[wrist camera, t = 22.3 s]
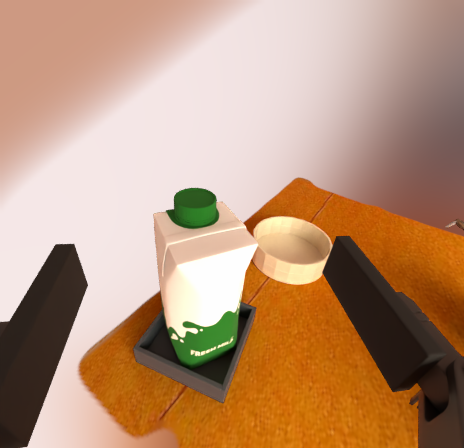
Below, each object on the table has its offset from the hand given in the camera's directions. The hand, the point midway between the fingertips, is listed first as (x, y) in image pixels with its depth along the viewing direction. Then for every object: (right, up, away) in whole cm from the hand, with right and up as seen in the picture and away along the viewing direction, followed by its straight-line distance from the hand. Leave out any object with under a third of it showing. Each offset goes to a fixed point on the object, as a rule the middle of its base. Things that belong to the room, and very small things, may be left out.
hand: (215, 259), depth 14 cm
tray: (-3, -14, +21) cm, 25 cm away
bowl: (+12, -4, +36) cm, 38 cm away
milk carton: (-3, -13, +21) cm, 25 cm away
